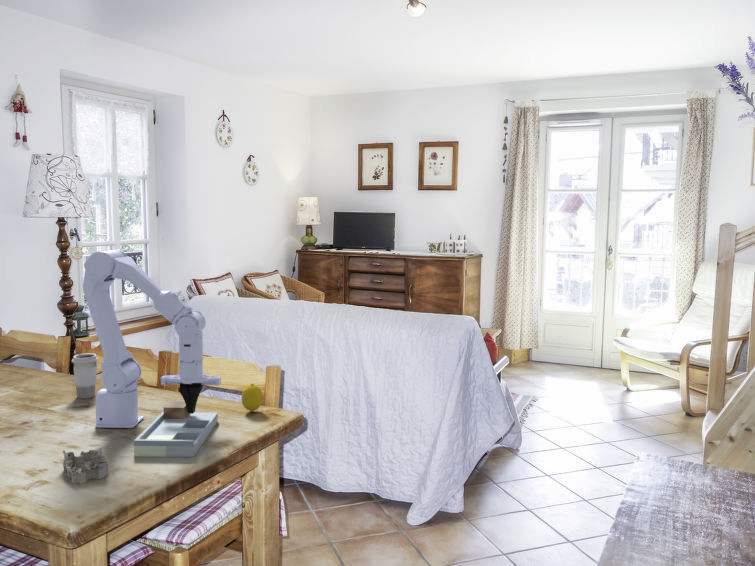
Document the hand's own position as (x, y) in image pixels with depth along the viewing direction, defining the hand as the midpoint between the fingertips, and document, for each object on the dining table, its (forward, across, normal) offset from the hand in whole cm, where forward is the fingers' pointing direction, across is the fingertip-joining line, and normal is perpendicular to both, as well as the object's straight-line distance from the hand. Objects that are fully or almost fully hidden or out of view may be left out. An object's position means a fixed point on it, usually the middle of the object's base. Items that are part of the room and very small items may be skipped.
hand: (191, 412), depth 152 cm
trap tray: (+3, -1, -8) cm, 9 cm away
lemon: (+4, +13, +11) cm, 18 cm away
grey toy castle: (+4, -14, -28) cm, 32 cm away
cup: (+4, -37, +23) cm, 43 cm away
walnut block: (+1, -4, 0) cm, 4 cm away
